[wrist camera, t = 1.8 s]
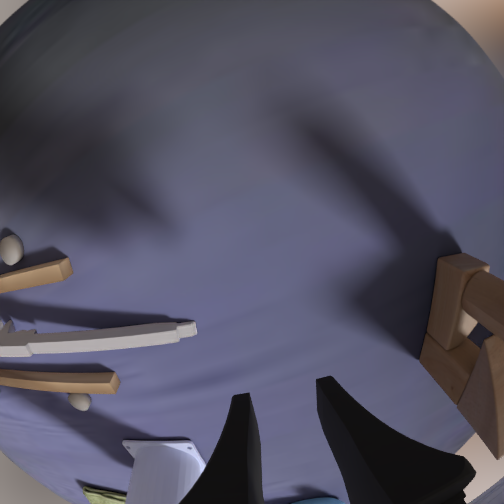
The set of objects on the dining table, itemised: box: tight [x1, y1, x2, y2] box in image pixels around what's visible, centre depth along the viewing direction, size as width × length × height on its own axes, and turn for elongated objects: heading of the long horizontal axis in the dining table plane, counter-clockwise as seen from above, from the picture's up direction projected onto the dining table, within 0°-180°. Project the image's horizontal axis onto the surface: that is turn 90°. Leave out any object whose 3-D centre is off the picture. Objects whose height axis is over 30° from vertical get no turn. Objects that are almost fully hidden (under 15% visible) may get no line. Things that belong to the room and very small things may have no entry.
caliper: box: [0, 320, 197, 357], centre depth 16 cm, size 20×1×6 cm, turn 94°
